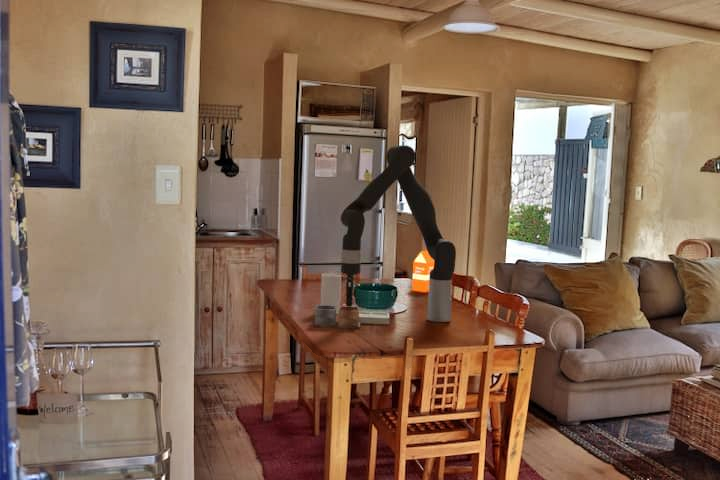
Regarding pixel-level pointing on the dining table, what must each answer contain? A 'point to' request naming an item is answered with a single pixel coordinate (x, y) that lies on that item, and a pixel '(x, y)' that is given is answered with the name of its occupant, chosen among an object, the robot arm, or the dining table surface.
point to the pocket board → (374, 318)
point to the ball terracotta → (352, 300)
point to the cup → (331, 290)
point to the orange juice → (422, 271)
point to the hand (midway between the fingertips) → (349, 304)
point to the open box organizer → (346, 319)
